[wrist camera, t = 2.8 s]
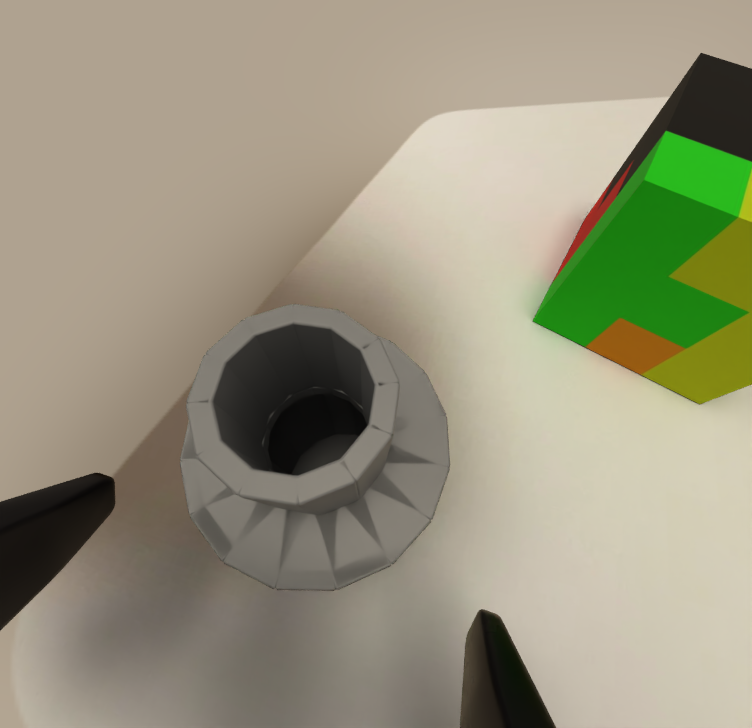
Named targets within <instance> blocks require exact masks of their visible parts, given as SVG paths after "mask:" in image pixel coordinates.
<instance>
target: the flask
mask: <svg viewBox="0 0 752 728" xmlns="http://www.w3.org/2000/svg"><path fill="white" fill-rule="evenodd" d="M186 409H187V414H188V419H189V423H188V427H187V431H186V436H185V440H184V444H183V449H182V453H181V457H180V461H181V462H180V467H181V473H182V478H183V484H184V489H185V495H186V501H187V506H188V512H189V515H191V516H190V518H191V519H192V521H193V522H194V523H195V525H196V526H197V528H198V529H199V530H200V532H201V533H202V535H203V536H204V537H205V539H206V540H207V542H208V543H209V544H210V546H211V547H212V549H213V550H214V551H215V553H216V554H217V556H218V557H219V558H220V560H221V561H223V562H224V564H226V565H228V566H230V567H232V568H234V569H236V570H238V571H240V572H242V573H243V574H245V575H247V576H249V577H251V578H253V579H255V580H257V581H259V582H261V583H263V584H265V585H266V586H268V587H270V588H272V589H277V590H315V591H334V590H335V589H336V590H339V589H341V588H343V587H345V586H348V585H350V584H352V583H354V582H357V581H359V580H361V579H363V578H365V577H368V576H370V575H372V574H374V573H376V572H379V571H381V570H383V569H385V568H387V567H390V566H391V564H394V563H395V562H396V560H397V559H398V558H399V557H400V556H401V555H402V554H403V553H404V552H405V550H406V549H407V548H408V547H409V546H410V545H411V544H412V543H413V541H414V540H415V539H416V538H417V537H418V536H419V535H420V534H421V533H422V531H423V530H424V529H425V528H426V527H427V526H428V525H429V524H430V522H431V520H432V519H433V516H434V514H435V511H436V508H437V505H438V502H439V499H440V496H441V493H442V490H443V487H444V484H445V481H446V478H447V475H448V473H449V467H450V457H449V441H448V425H447V417H446V413H445V411H444V409H443V407H442V405H441V403H440V401H439V399H438V397H437V394H436V392H435V390H434V388H433V386H432V384H431V382H430V380H429V378H428V376H427V374H426V373H425V371H424V370H423V369H421V368H420V367H419V366H418V365H417V364H416V363H415V362H414V361H413V360H412V359H411V358H409V357H408V356H407V355H406V354H405V353H404V352H403V351H402V350H401V349H400V348H398V347H397V346H396V345H395V344H394V343H393V342H391V341H390V340H387V339H385V338H382V337H379V336H377V335H375V334H373V333H372V332H371V331H369V330H368V329H366V328H365V327H364V326H362V325H361V324H359V323H358V322H356V321H355V320H354V319H352V318H351V317H349V316H348V315H347V314H345V313H344V312H342V311H341V312H340V311H339V310H334V309H327V308H320V307H313V306H306V305H299V304H293V305H292V304H289V305H286V306H283V307H280V308H276V309H273V310H270V311H267V312H263V313H260V314H257V315H253V316H250V317H247V318H245V320H241V321H240V322H239V323H238V324H237V325H236V326H235V327H234V328H233V329H231V330H230V331H229V332H228V333H227V334H226V335H225V336H224V337H222V338H221V339H220V340H219V341H218V342H217V343H216V344H215V345H214V346H212V347H211V348H210V349H209V350H208V351H207V352H206V355H204V356H203V359H202V362H201V364H200V367H199V370H198V372H197V375H196V377H195V380H194V383H193V385H192V388H191V391H190V393H189V396H188V399H187V404H186Z"/></svg>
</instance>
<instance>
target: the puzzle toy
mask: <svg viewBox="0 0 752 728" xmlns="http://www.w3.org/2000/svg"><path fill="white" fill-rule="evenodd" d="M533 321H534V322H536V323H538V324H540V325H542V326H544V327H546V328H548V329H550V330H552V331H554V332H556V333H558V334H560V335H562V336H564V337H566V338H568V339H570V340H572V341H574V342H576V343H578V344H580V345H582V346H584V347H586V348H588V349H590V350H592V351H594V352H596V353H598V354H600V355H602V356H604V357H606V358H608V359H610V360H612V361H614V362H616V363H618V364H620V365H622V366H624V367H626V368H628V369H630V370H632V371H634V372H636V373H638V374H640V375H642V376H644V377H646V378H648V379H650V380H652V381H654V382H656V383H658V384H660V385H662V386H664V387H666V388H668V389H670V390H672V391H674V392H676V393H678V394H680V395H682V396H684V397H686V398H688V399H690V400H692V401H694V402H696V403H698V404H702V403H705V402H707V401H710V400H712V399H715V398H718V397H720V396H723V395H725V394H728V393H731V392H733V391H736V390H738V389H741V388H744V387H746V386H749V385H751V384H752V69H750V68H747V67H744V66H741V65H738V64H735V63H732V62H728V61H725V60H722V59H719V58H716V57H713V56H710V55H706V54H703V53H701V54H700V55H699V56H698V58H697V59H696V61H695V62H694V64H693V65H692V66H691V68H690V69H689V71H688V72H687V74H686V75H685V76H684V78H683V79H682V81H681V82H680V84H679V85H678V86H677V88H676V89H675V91H674V92H673V94H672V95H671V96H670V98H669V99H668V101H667V102H666V104H665V105H664V106H663V108H662V109H661V111H660V112H659V114H658V115H657V117H656V118H655V119H654V121H653V122H652V124H651V125H650V127H649V128H648V129H647V131H646V132H645V134H644V135H643V137H642V138H641V139H640V141H639V142H638V144H637V145H636V147H635V148H634V149H633V151H632V152H631V154H630V155H629V157H628V158H627V159H626V161H625V162H624V164H623V165H622V167H621V168H620V169H619V171H618V172H617V174H616V175H615V177H614V178H613V180H612V181H611V182H610V184H609V185H608V187H607V188H606V190H605V191H604V192H603V194H602V195H601V197H600V198H599V200H598V201H597V202H596V204H595V205H594V207H593V208H592V210H591V211H590V212H589V214H588V215H587V217H586V218H585V220H584V222H583V224H582V226H581V228H580V230H579V232H578V234H577V236H576V238H575V240H574V241H573V243H572V245H571V247H570V249H569V251H568V253H567V255H566V257H565V259H564V261H563V263H562V265H561V267H560V269H559V271H558V273H557V275H556V277H555V278H554V280H553V282H552V284H551V286H550V288H549V290H548V292H547V294H546V296H545V298H544V300H543V302H542V304H541V306H540V308H539V310H538V312H537V314H536V315H535V317H534V319H533Z"/></svg>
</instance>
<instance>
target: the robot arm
mask: <svg viewBox="0 0 752 728" xmlns="http://www.w3.org/2000/svg"><path fill="white" fill-rule="evenodd" d="M114 506H115V482H114V479H113V478H112V477H109V476H106V475H103V474H101V473H93V474H89V475H86V476H83V477H80V478H76V479H73V480H70V481H66V482H63V483H60V484H57V485H53V486H50V487H47V488H44V489H40V490H37V491H34V492H31V493H27V494H24V495H21V496H18V497H15V498H11V499H8V500H5V501H1V502H0V630H1V629H2V628H3V627H4V626H5V625H7V624H8V623H9V621H11V620H12V619H13V617H15V616H16V615H17V614H18V613H19V612H20V611H21V610H22V609H23V608H24V607H25V606H26V605H27V604H28V603H29V602H30V601H31V600H32V599H33V598H34V597H35V596H36V595H37V594H38V593H39V592H40V591H41V590H42V589H43V588H44V587H45V586H46V585H47V584H48V583H49V582H50V581H51V580H52V579H53V578H54V577H55V576H56V575H57V574H58V573H59V572H60V571H61V570H62V569H63V568H64V567H65V565H66V564H67V563H68V562H69V561H70V560H71V559H72V558H73V556H74V555H75V554H76V553H77V552H78V551H79V550H80V548H81V547H82V546H83V545H84V544H85V543H86V541H87V540H88V539H89V538H90V537H91V536H92V535H93V533H94V532H95V531H96V530H97V529H98V528H99V526H100V525H101V524H102V523H103V522H104V521H105V519H106V518H107V517H108V516H109V515H110V514H111V512H112V511H113V509H114ZM460 728H556V727H555V725H554V723H553V721H552V719H551V717H550V715H549V713H548V711H547V709H546V707H545V705H544V703H543V701H542V699H541V697H540V695H539V693H538V691H537V689H536V687H535V685H534V683H533V681H532V679H531V677H530V675H529V673H528V671H527V669H526V667H525V665H524V663H523V661H522V659H521V657H520V655H519V653H518V651H517V649H516V647H515V645H514V643H513V641H512V639H511V637H510V635H509V633H508V631H507V629H506V627H505V625H504V623H503V621H502V619H501V618H500V617H499V616H498V615H497V614H495V613H492V612H489V611H487V610H484V609H481V610H479V612H478V613H477V615H476V617H475V619H474V621H473V623H472V625H471V627H470V629H469V631H468V634H467V637H466V644H465V658H464V672H463V687H462V701H461V716H460Z"/></svg>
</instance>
